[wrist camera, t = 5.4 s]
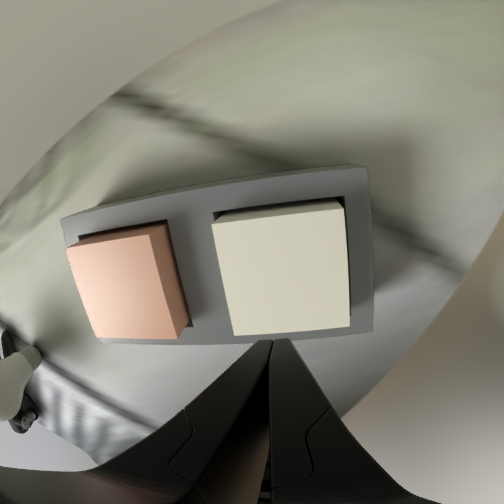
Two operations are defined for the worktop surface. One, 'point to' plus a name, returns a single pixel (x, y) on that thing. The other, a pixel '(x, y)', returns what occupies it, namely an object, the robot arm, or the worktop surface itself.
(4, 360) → the lightbulb
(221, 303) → the keypad
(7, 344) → the can opener
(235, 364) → the robot arm
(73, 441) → the worktop surface
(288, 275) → the cream key
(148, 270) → the terracotta key
